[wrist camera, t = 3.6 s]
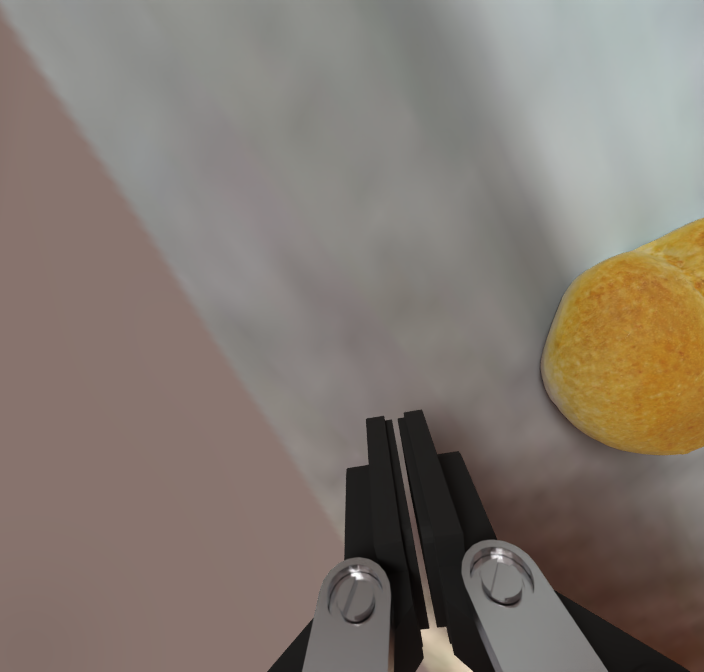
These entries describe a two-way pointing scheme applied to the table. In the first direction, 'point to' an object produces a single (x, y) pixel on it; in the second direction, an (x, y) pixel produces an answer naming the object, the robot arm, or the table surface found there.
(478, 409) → the table surface
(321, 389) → the table surface
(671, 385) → the bread roll
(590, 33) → the table surface
